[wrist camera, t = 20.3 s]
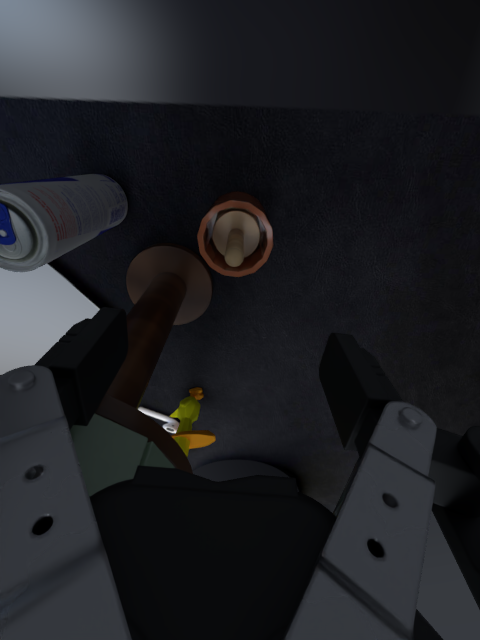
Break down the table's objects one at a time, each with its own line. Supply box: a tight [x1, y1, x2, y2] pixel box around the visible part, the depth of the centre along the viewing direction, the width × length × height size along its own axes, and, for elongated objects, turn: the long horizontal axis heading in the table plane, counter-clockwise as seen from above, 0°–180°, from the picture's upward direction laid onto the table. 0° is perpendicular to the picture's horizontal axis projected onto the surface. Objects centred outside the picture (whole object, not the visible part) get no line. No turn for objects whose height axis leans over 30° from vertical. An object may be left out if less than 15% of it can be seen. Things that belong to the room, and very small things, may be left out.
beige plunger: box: [212, 207, 260, 267], centre depth 26 cm, size 5×5×12 cm
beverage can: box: [0, 174, 128, 272], centre depth 24 cm, size 5×5×15 cm
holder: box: [197, 191, 273, 277], centre depth 28 cm, size 6×6×8 cm
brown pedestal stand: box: [0, 243, 213, 474], centre depth 24 cm, size 13×13×25 cm
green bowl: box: [70, 413, 175, 497], centre depth 11 cm, size 13×13×5 cm
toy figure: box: [169, 387, 215, 457], centre depth 38 cm, size 7×4×12 cm, turn 98°
